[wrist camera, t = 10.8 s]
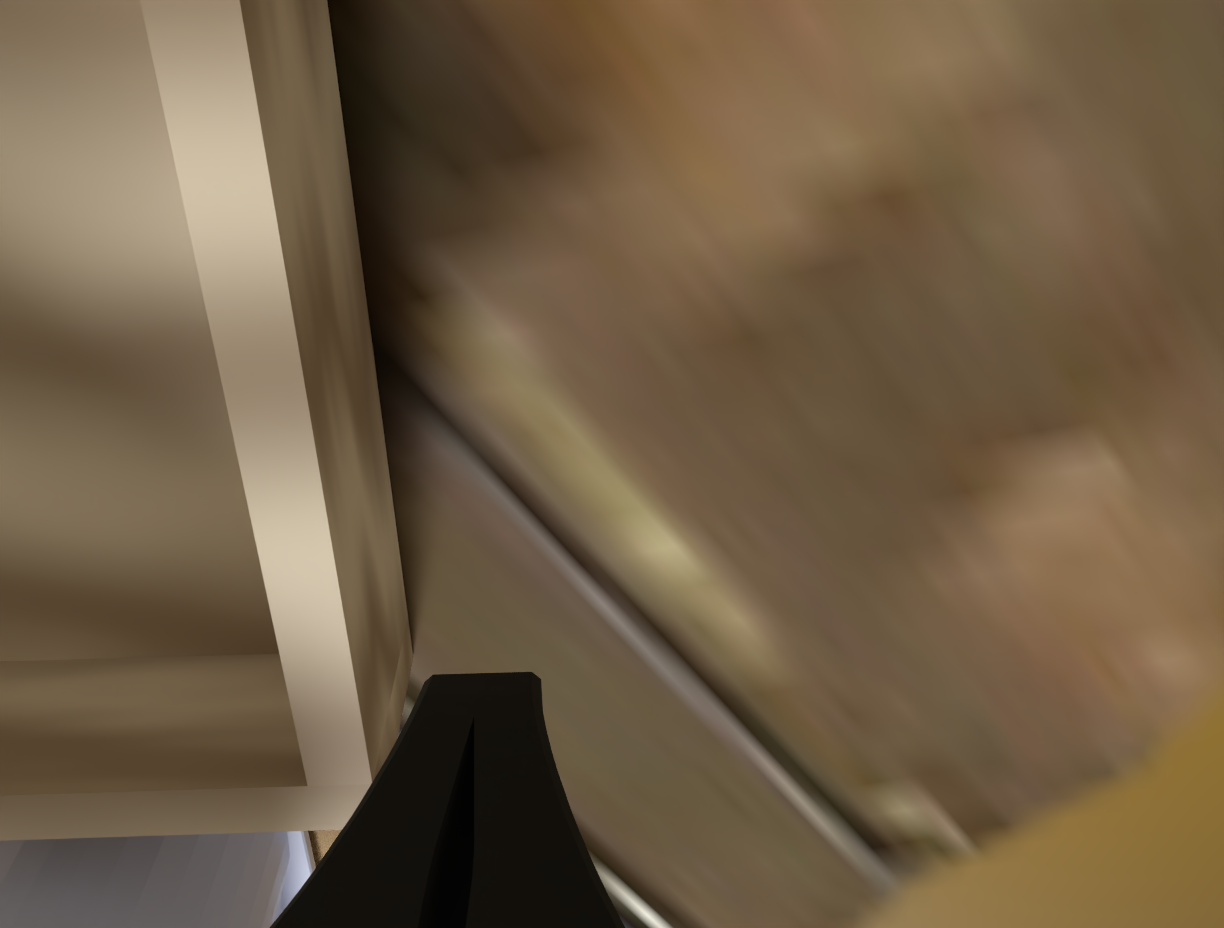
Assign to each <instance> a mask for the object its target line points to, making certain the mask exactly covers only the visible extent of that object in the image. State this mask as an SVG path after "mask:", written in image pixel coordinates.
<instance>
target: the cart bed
mask: <svg viewBox="0 0 1224 928" xmlns="http://www.w3.org/2000/svg"><path fill="white" fill-rule="evenodd" d="M412 660H413V651H412V643H411V636H410V628H409V620H408V613H407V605H406V598H405V590H404V582H403V575H402V567H401V559H400V552H399V544H398V537H397V529H396V521H395V514H394V506H393V498H392V491H391V483H390V476H389V468H388V460H387V453H386V445H385V437H384V430H383V422H382V415H381V407H380V399H379V392H378V384H377V376H376V369H375V361H374V354H373V346H372V338H371V331H370V323H369V315H368V308H367V300H366V293H365V285H364V277H363V270H362V262H361V255H360V247H359V239H358V232H357V224H356V216H355V209H354V201H353V194H352V186H351V178H350V171H349V163H348V155H347V148H346V140H345V133H344V125H343V117H342V110H341V102H340V94H339V87H338V79H337V72H336V64H335V56H334V49H333V41H332V33H331V26H330V18H329V11H328V3H327V0H0V841H7V840H39V839H70V838H101V837H132V836H164V835H195V834H226V833H257V832H289V831H320V830H342V829H343V828H344V826H345V825H346V823H347V822H348V821H349V819H350V818H351V816H352V815H353V813H354V811H355V810H356V808H357V807H358V805H359V804H360V802H361V800H362V799H363V797H364V795H365V794H366V792H367V790H368V789H369V787H370V785H371V784H372V782H373V780H374V779H375V777H376V775H377V774H378V772H379V770H380V769H381V767H382V765H383V764H384V762H385V760H386V759H387V757H388V755H389V753H390V751H391V750H392V748H393V746H394V744H395V742H396V740H397V738H398V733H399V728H400V723H401V717H402V712H403V707H404V702H405V697H406V692H407V686H408V681H409V676H410V671H411V666H412Z"/></svg>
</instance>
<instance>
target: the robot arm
mask: <svg viewBox="0 0 1224 928" xmlns="http://www.w3.org/2000/svg"><path fill="white" fill-rule="evenodd" d="M0 928H625V927H624V925H623V923H622V921H621V919H620V917H619V915H618V913H617V911H616V909H615V907H614V906H613V904H612V902H611V900H610V898H609V896H608V894H607V892H606V890H605V888H604V886H603V883H602V881H601V879H600V877H599V875H598V873H597V871H596V869H595V866H594V864H593V862H592V860H591V857H590V855H589V853H588V850H587V848H586V846H585V843H584V841H583V839H582V836H581V834H580V832H579V829H578V827H577V824H576V822H575V819H574V816H573V814H572V811H571V809H570V806H569V803H568V800H567V797H566V794H565V791H564V788H563V786H562V783H561V780H560V777H559V774H558V771H557V768H556V764H555V761H554V758H553V754H552V750H551V746H550V742H549V738H548V735H547V731H546V726H545V721H544V715H543V707H542V688H541V679H540V678H539V677H538V676H536V675H535V674H534V673H532V672H512V673H477V674H441V675H432V676H431V677H430V678H429V679H428V680H426V681H425V682H424V685H423V687H422V690H421V692H420V694H419V697H418V699H417V701H416V703H415V705H414V707H413V709H412V711H411V714H410V716H409V718H408V720H407V722H406V724H405V725H404V727H403V729H402V731H401V733H400V735H399V737H398V739H397V740H396V742H395V744H394V746H393V748H392V750H391V751H390V753H389V755H388V757H387V759H386V760H385V762H384V764H383V765H382V767H381V769H380V770H379V772H378V774H377V775H376V777H375V779H374V780H373V782H372V784H371V785H370V787H369V789H368V790H367V792H366V794H365V795H364V797H363V799H362V800H361V802H360V804H359V805H358V807H357V808H356V810H355V811H354V813H353V815H352V816H351V818H350V819H349V821H348V822H347V823H346V825H345V826H344V828H343V829H342V831H341V832H340V834H339V835H338V837H337V838H336V839H335V841H334V842H333V844H332V845H331V847H330V848H329V850H328V851H327V853H326V854H325V856H324V857H323V858H322V860H321V861H320V863H319V864H318V866H317V867H316V865H315V861H314V856H313V852H312V847H311V842H310V838H309V833H308V831H289V832H257V833H226V834H195V835H164V836H132V837H101V838H70V839H39V840H7V841H0Z"/></svg>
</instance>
